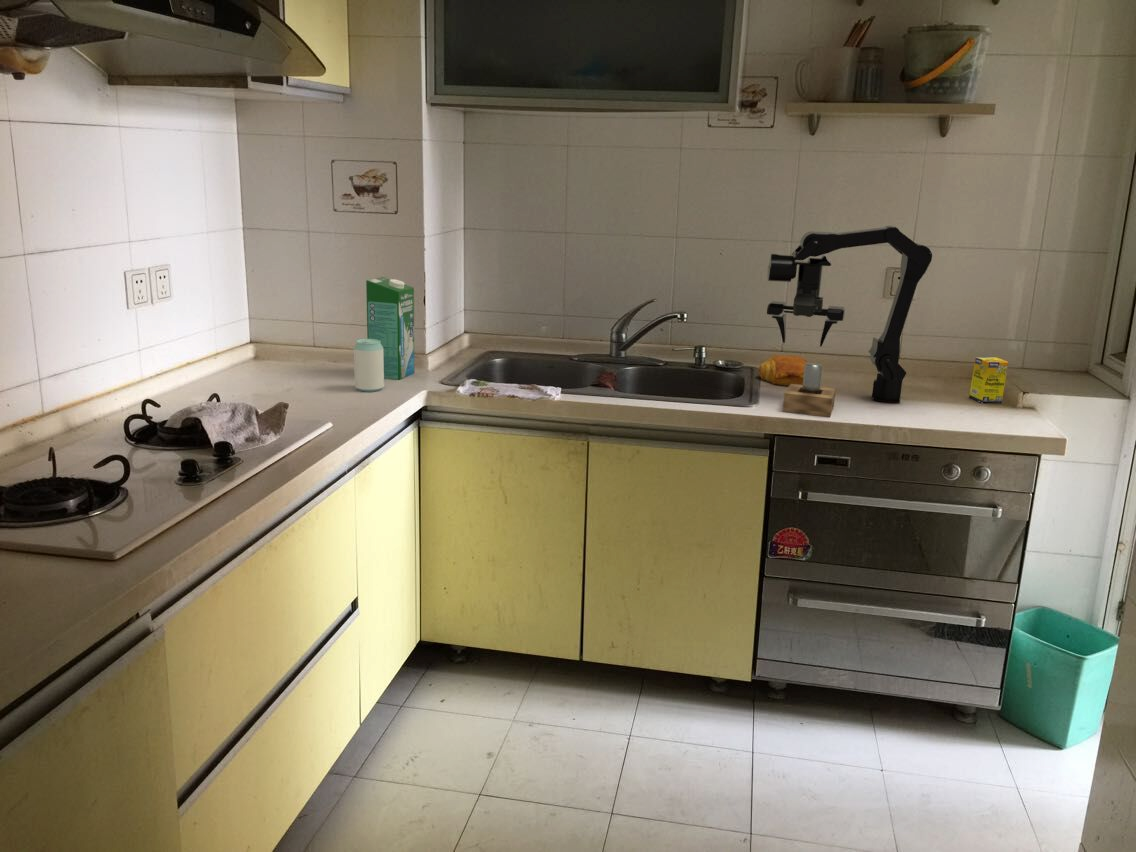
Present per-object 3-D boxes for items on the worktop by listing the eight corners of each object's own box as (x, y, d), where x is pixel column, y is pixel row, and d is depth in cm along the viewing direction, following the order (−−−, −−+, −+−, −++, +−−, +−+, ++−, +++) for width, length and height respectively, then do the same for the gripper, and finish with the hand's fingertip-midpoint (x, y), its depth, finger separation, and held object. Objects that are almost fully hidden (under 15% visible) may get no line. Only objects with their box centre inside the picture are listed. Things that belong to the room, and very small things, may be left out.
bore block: (833, 406, 236) (835, 388, 235) (829, 417, 226) (832, 398, 225) (788, 401, 239) (790, 383, 238) (782, 411, 229) (784, 393, 228)
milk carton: (399, 380, 246) (398, 282, 239) (367, 376, 248) (365, 279, 241) (414, 372, 254) (414, 278, 247) (383, 369, 256) (382, 276, 249)
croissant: (758, 381, 270) (757, 353, 268) (815, 377, 267) (814, 349, 265) (759, 391, 256) (758, 362, 254) (819, 388, 253) (818, 358, 252)
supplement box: (981, 403, 245) (988, 361, 242) (968, 397, 250) (974, 356, 247) (1002, 403, 246) (1009, 361, 243) (989, 397, 251) (995, 356, 248)
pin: (818, 403, 233) (822, 363, 231) (816, 407, 230) (821, 367, 227) (801, 402, 235) (806, 362, 232) (799, 405, 231) (804, 365, 228)
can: (379, 393, 232) (379, 344, 229) (351, 391, 232) (350, 342, 229) (387, 386, 239) (386, 338, 235) (359, 384, 239) (358, 337, 236)
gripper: (766, 283, 235) (760, 346, 239) (845, 289, 229) (837, 353, 233) (772, 278, 245) (767, 339, 249) (848, 284, 239) (841, 346, 243)
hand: (802, 344), depth 243 cm, fingers open, 9 cm apart
